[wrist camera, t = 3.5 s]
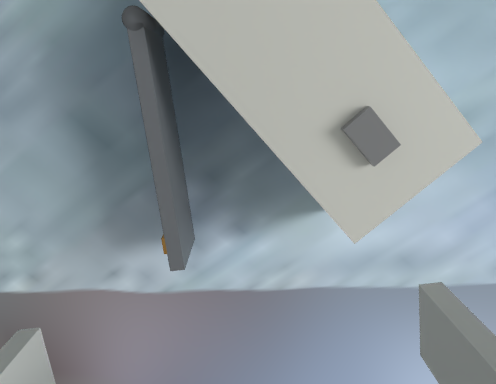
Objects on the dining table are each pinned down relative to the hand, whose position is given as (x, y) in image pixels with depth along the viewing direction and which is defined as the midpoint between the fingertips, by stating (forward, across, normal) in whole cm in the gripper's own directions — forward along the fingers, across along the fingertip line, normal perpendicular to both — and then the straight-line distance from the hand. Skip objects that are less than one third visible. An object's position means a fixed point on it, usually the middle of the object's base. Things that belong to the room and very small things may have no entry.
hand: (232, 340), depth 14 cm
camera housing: (+21, +6, +9) cm, 23 cm away
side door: (+20, -5, +5) cm, 21 cm away
